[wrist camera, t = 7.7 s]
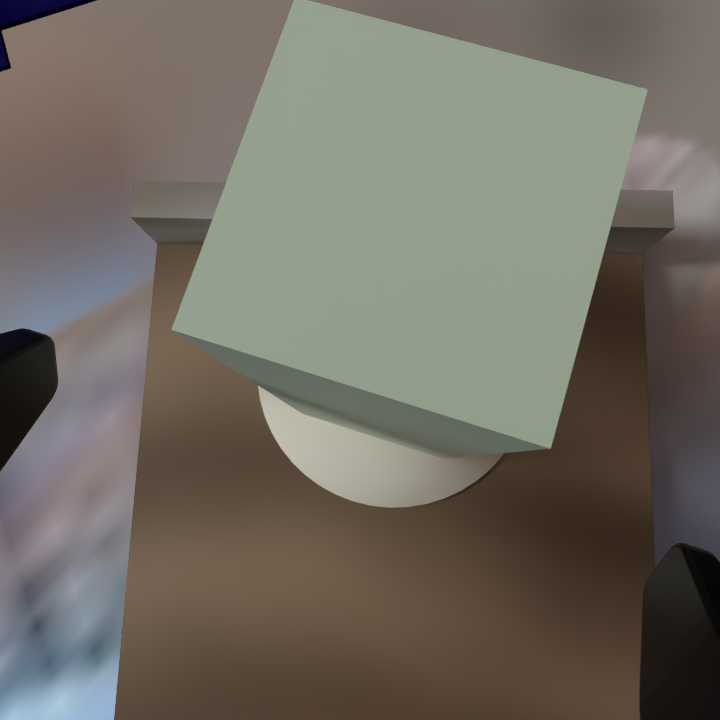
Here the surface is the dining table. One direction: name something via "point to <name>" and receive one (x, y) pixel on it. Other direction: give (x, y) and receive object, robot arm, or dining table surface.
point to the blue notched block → (28, 17)
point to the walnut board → (385, 531)
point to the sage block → (413, 233)
